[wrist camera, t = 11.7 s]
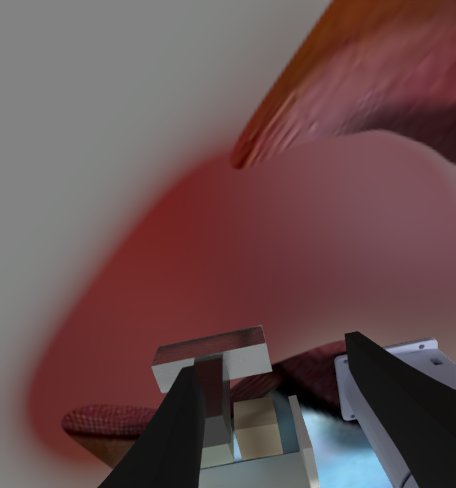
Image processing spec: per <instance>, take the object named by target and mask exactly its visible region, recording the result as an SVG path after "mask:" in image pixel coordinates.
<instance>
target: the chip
mask: <svg viewBox="0 0 456 488" xmlns="http://www.w3.org/2000/svg"><path fill="white" fill-rule="evenodd" d="M234 429H235V434H236V438H237V441H238V445H239V449H240V453H241V457H242V460H248V459H254V458H260V457H267V456H273V455H280V454H283V448H282V443H281V438H280V433H279V428H278V423H277V418H276V413H275V408H274V403H273V398H272V396H270V397H264V398H258V399H252V400H246V401H240V402H234Z"/></svg>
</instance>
